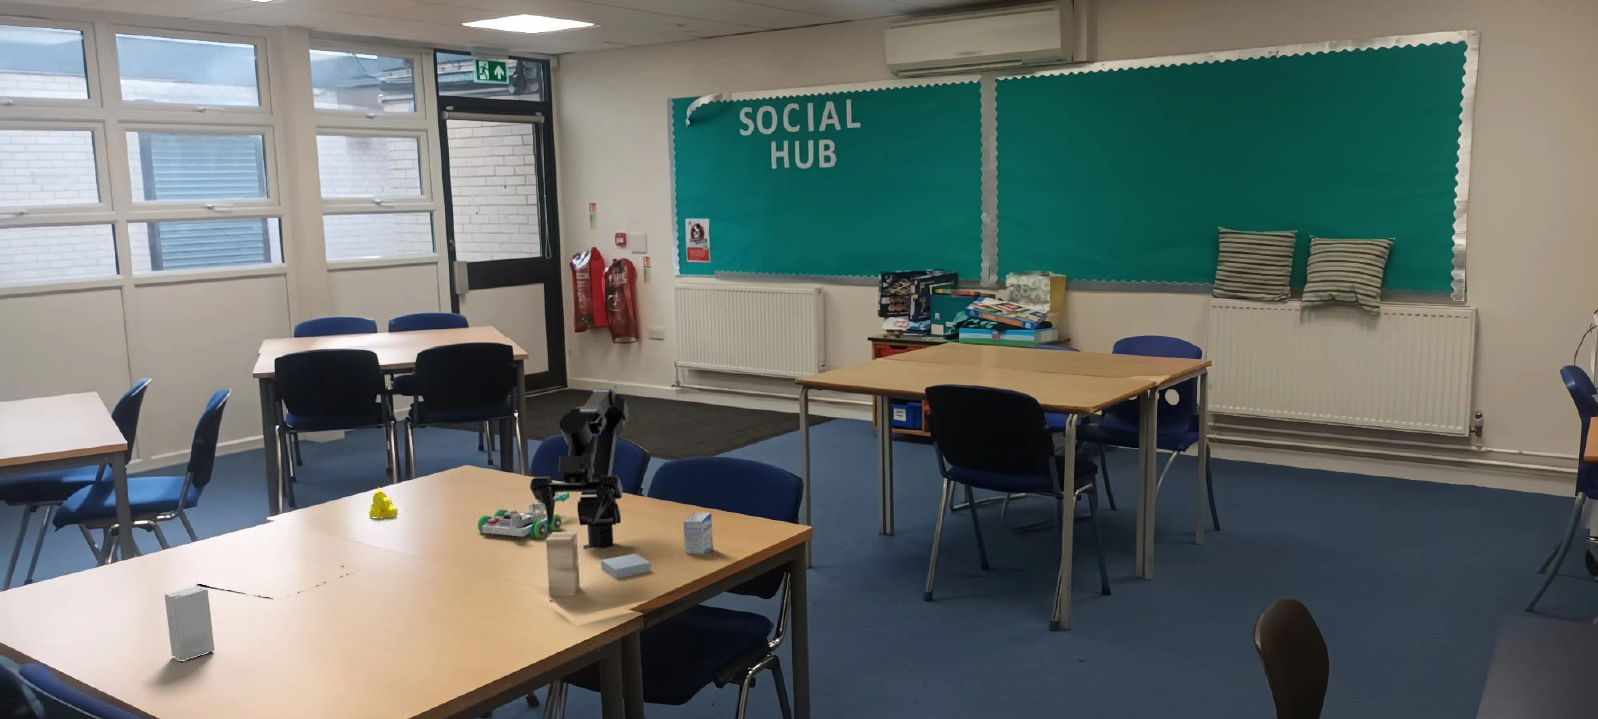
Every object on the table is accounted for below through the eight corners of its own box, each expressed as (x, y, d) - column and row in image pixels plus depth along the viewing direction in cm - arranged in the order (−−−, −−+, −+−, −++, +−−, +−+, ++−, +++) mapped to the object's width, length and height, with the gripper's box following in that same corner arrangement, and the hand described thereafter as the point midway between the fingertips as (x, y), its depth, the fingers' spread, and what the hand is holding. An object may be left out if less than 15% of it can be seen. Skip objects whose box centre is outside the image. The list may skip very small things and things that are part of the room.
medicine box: (703, 559, 255) (702, 521, 254) (684, 558, 256) (683, 521, 255) (713, 549, 262) (712, 512, 261) (694, 548, 263) (693, 511, 262)
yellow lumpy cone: (385, 520, 296) (382, 491, 295) (364, 517, 300) (361, 488, 299) (403, 515, 301) (400, 486, 300) (382, 511, 305) (380, 483, 304)
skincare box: (205, 647, 210) (198, 583, 209) (216, 653, 207) (209, 588, 206) (169, 658, 206) (163, 593, 204) (180, 663, 203) (173, 598, 201)
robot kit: (590, 517, 294) (588, 481, 293) (531, 544, 271) (529, 506, 270) (530, 511, 302) (528, 477, 300) (468, 537, 279) (466, 500, 278)
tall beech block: (556, 593, 235) (552, 532, 233) (580, 593, 234) (576, 532, 233) (549, 602, 230) (546, 539, 228) (574, 601, 229) (570, 539, 228)
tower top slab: (601, 569, 246) (600, 560, 246) (635, 562, 250) (635, 553, 250) (615, 578, 239) (615, 569, 239) (650, 571, 243) (650, 562, 243)
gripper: (529, 440, 241) (517, 505, 232) (616, 438, 240) (608, 503, 231) (541, 467, 250) (531, 531, 241) (626, 465, 249) (618, 529, 240)
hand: (571, 523), depth 238 cm, fingers open, 9 cm apart
